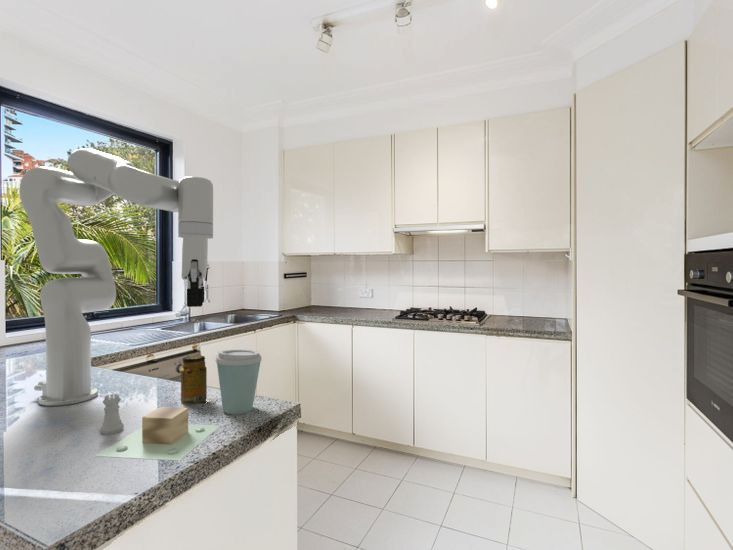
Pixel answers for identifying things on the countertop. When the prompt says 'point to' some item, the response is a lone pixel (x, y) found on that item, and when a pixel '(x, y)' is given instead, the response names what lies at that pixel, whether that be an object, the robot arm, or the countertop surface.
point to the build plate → (159, 445)
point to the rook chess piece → (111, 415)
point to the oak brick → (164, 425)
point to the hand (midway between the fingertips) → (196, 304)
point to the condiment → (194, 381)
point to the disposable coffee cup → (238, 379)
